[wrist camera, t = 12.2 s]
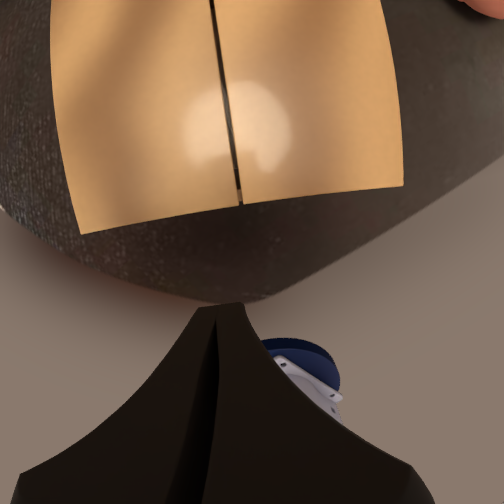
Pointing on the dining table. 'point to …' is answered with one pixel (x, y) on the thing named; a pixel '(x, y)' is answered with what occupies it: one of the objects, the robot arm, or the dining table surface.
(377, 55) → the flap
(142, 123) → the wooden box
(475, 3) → the teapot
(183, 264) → the dining table surface
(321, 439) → the robot arm
